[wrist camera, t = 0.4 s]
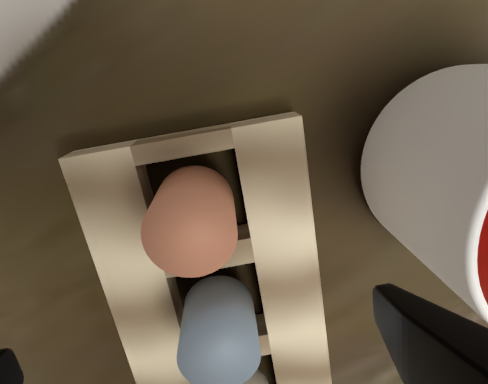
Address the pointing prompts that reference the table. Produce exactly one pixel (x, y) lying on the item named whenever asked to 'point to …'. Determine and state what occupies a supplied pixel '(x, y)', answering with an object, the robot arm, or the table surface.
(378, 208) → the cup
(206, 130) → the board
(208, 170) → the button terracotta
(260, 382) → the button cream
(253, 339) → the button slate
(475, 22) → the table surface
